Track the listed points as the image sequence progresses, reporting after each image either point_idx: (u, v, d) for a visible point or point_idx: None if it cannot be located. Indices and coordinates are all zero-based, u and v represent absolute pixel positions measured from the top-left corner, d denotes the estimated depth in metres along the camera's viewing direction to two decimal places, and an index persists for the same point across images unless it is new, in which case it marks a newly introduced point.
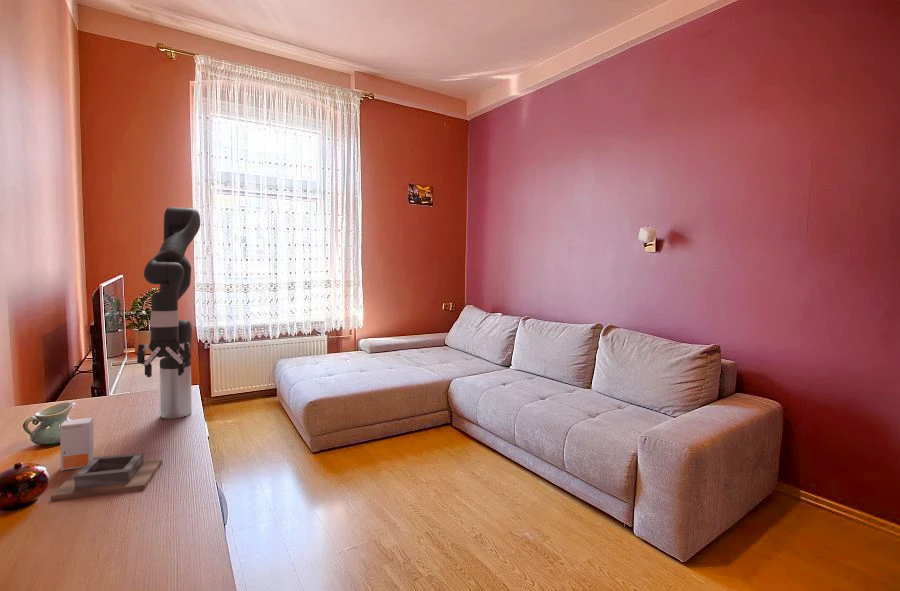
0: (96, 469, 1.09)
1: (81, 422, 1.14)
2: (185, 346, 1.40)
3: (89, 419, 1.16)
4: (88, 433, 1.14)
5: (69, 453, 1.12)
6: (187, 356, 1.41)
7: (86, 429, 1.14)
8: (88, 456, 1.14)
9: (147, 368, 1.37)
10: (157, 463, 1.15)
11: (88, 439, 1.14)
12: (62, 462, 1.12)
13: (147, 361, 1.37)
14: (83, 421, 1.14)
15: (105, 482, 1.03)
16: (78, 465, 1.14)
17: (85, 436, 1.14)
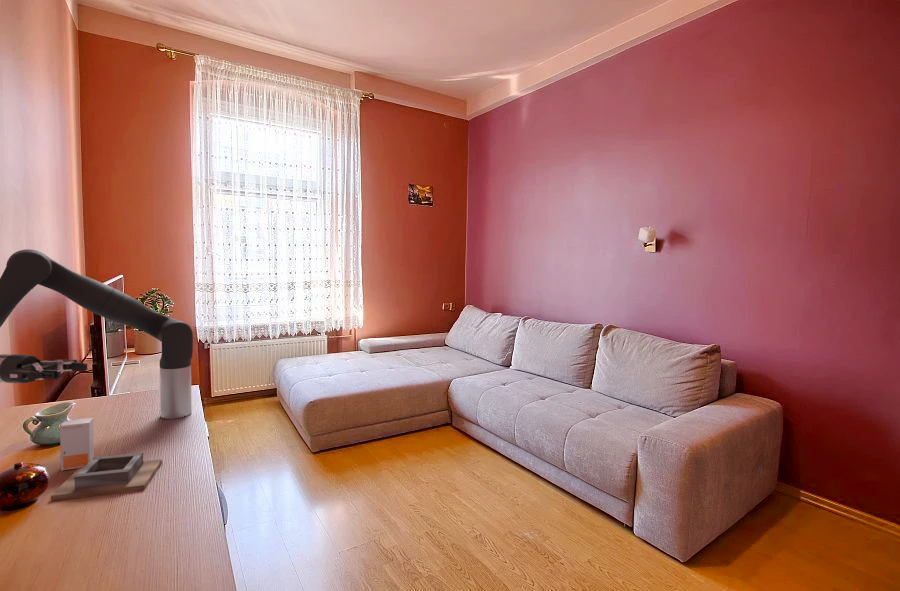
0: (96, 469, 1.09)
1: (81, 422, 1.14)
2: None
3: (89, 419, 1.16)
4: (88, 433, 1.14)
5: (69, 453, 1.12)
6: None
7: (86, 429, 1.14)
8: (88, 456, 1.14)
9: None
10: (157, 463, 1.15)
11: (88, 439, 1.14)
12: (62, 462, 1.12)
13: None
14: (83, 421, 1.14)
15: (105, 482, 1.03)
16: (78, 465, 1.14)
17: (85, 436, 1.14)
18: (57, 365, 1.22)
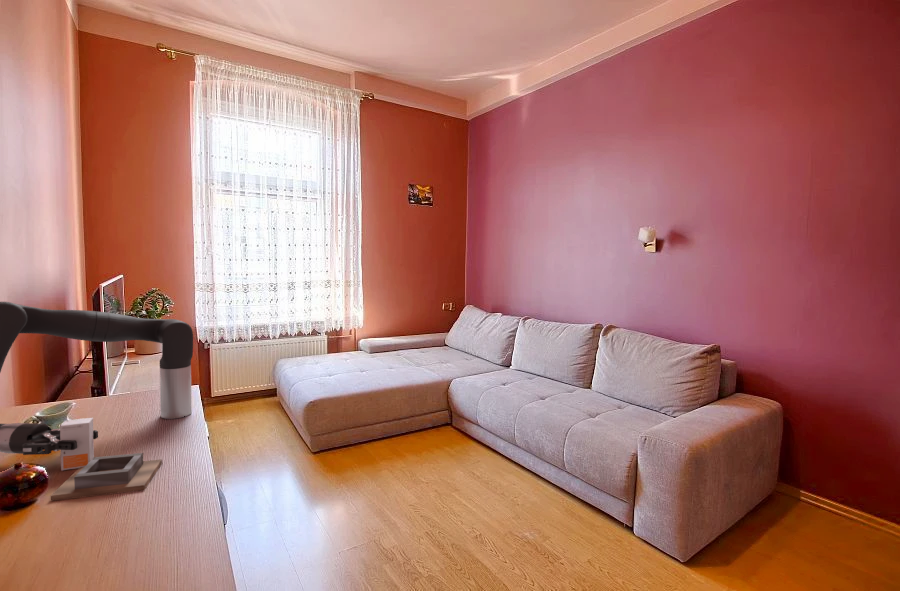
0: (96, 469, 1.09)
1: (81, 422, 1.14)
2: None
3: (89, 419, 1.16)
4: (88, 433, 1.14)
5: (69, 453, 1.12)
6: None
7: (86, 429, 1.14)
8: (88, 456, 1.14)
9: None
10: (157, 463, 1.15)
11: (88, 439, 1.14)
12: (62, 462, 1.12)
13: None
14: (83, 421, 1.14)
15: (105, 482, 1.03)
16: (78, 465, 1.14)
17: (85, 436, 1.14)
18: None
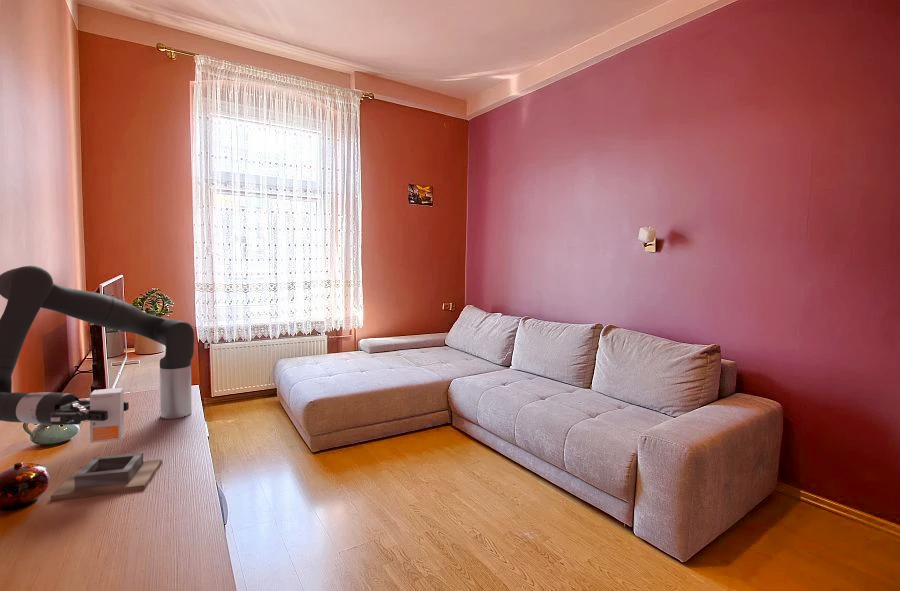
0: (96, 469, 1.09)
1: (112, 392, 1.06)
2: None
3: (120, 389, 1.08)
4: (119, 403, 1.06)
5: (99, 425, 1.05)
6: None
7: (117, 399, 1.06)
8: (119, 428, 1.07)
9: None
10: (157, 463, 1.15)
11: (119, 410, 1.06)
12: (92, 434, 1.04)
13: None
14: (114, 391, 1.06)
15: (105, 482, 1.03)
16: (108, 438, 1.06)
17: (116, 407, 1.06)
18: None
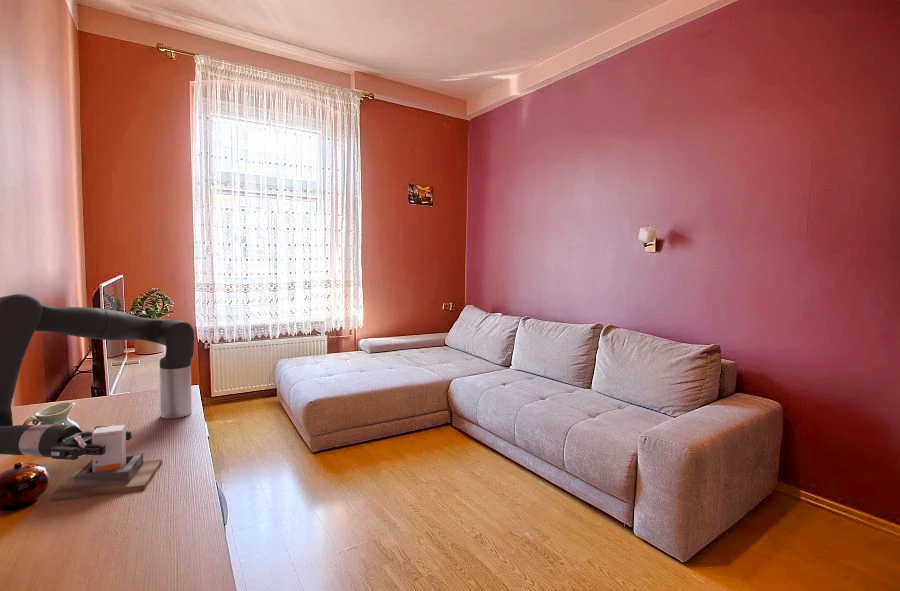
0: None
1: (113, 430, 1.07)
2: None
3: (122, 426, 1.09)
4: (121, 441, 1.07)
5: (101, 463, 1.05)
6: None
7: (119, 437, 1.07)
8: (121, 466, 1.07)
9: None
10: (157, 463, 1.15)
11: (121, 448, 1.07)
12: None
13: None
14: (116, 429, 1.07)
15: (105, 482, 1.03)
16: None
17: (118, 445, 1.07)
18: None
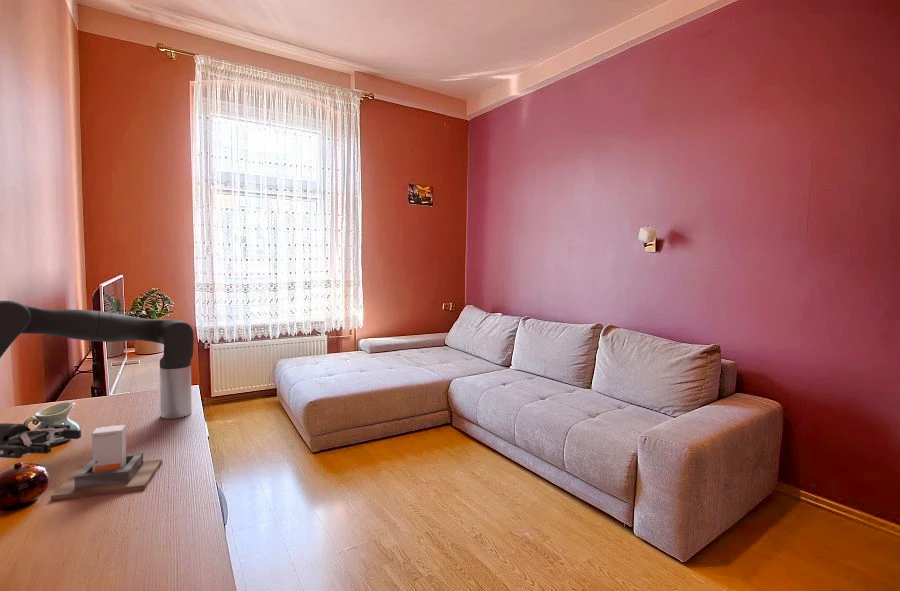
0: None
1: (113, 430, 1.07)
2: None
3: (122, 426, 1.09)
4: (121, 441, 1.07)
5: (101, 463, 1.05)
6: None
7: (119, 437, 1.07)
8: (121, 466, 1.07)
9: None
10: (157, 463, 1.15)
11: (121, 448, 1.07)
12: None
13: None
14: (116, 429, 1.07)
15: (105, 482, 1.03)
16: None
17: (118, 445, 1.07)
18: (48, 432, 1.12)
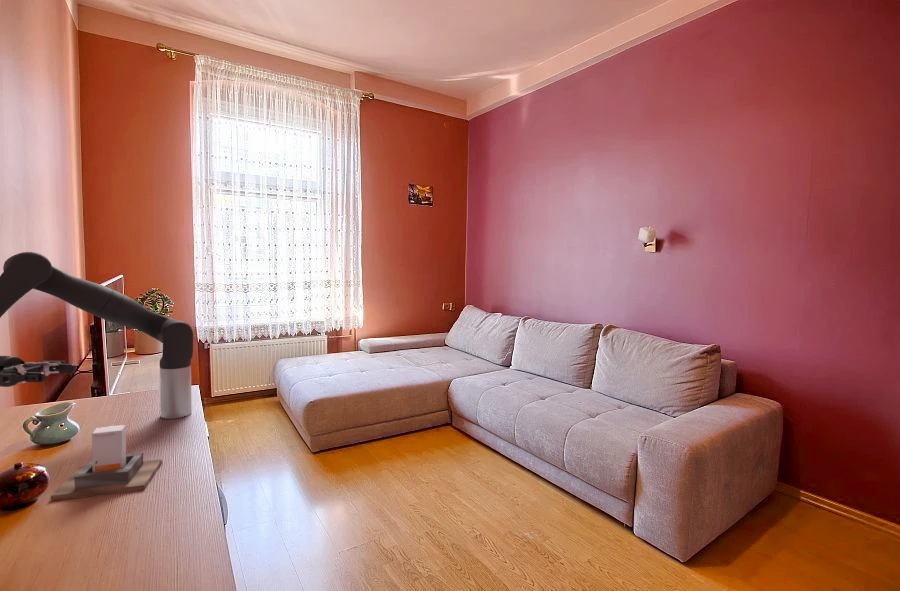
0: None
1: (113, 430, 1.07)
2: None
3: (122, 426, 1.09)
4: (121, 441, 1.07)
5: (101, 463, 1.05)
6: None
7: (119, 437, 1.07)
8: (121, 466, 1.07)
9: None
10: (157, 463, 1.15)
11: (121, 448, 1.07)
12: None
13: None
14: (116, 429, 1.07)
15: (105, 482, 1.03)
16: None
17: (118, 445, 1.07)
18: (43, 367, 1.13)
